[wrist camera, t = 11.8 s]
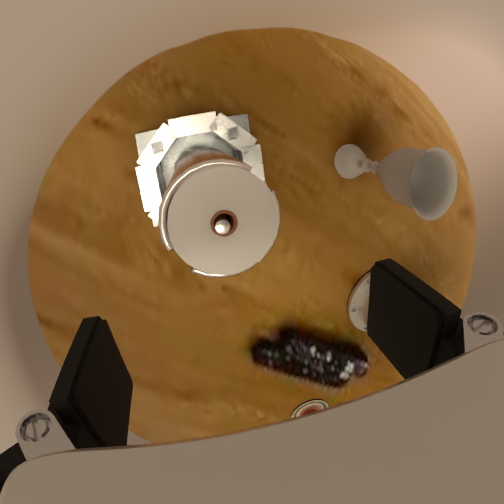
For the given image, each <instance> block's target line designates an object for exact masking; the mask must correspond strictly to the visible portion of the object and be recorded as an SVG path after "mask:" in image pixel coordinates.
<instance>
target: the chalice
mask: <svg viewBox="0 0 504 504" xmlns="http://www.w3.org/2000/svg"><path fill="white" fill-rule="evenodd" d="M334 164H335V168H336V170H337V172H338V174H339V175H341V176H342V177H344V178H347V179H352V178H355V177H357V176H359V175H361V174H362V173H363V172H370V171H371V172H372V173H373V174H377V176H378V178H379V180H380V182H381V184H382V186H383V188H384V189H385V190H386V192H387V193H388V194H389V195H390V196H391V198H392V199H393V200H394V201H396V202H398V203H401V204H403V205H406V206H408V207H410V208H413V209H414V210H415V212H416V213H417V214H418V215H419V216H420V218H423V219H425V220H427V221H429V220H436V219H438V218H439V217H441V216H443V215H444V214H445V212H446V211H447V210H448V209H449V207H450V206H451V204H452V202H453V200H454V197H455V193H456V190H457V180H458V179H457V169H456V166H455V163H454V160H453V158H452V157H451V155H450V154H449V152H447V151H446V150H444V149H443V148H440V147H433V148H430V149H427V150H421V149H415V148H406V147H404V148H402V149H399V150H397V151H394V152H392V153H390V154H389V155H387V156H386V157H385V158H383V159H382V160H381V161H380V162H377V161H373V162H372V161H371V160H370V159H366V156H365V154H364V153H363V152H362V150H361V149H360V148H359V147H358V146H356V145H353V144H346V145H343V146H342V147H341V148H339V150H338V151H337V153H336V155H335V161H334Z"/></svg>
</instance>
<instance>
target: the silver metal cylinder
mask: <svg viewBox="0 0 504 504" xmlns="http://www.w3.org/2000/svg"><path fill="white" fill-rule="evenodd" d="M252 168H253V167H251V166H250V165H248V164H246V163H244V162H242V161H240V160H238V159H236V158H234V157H232V156H230V155H228V154H226V153H224V152H222V151H219V150H217V149H215V148H213V147H211V146H208V145H202V144H199V145H193V146H191V147H188V148H187V149H185V150H184V151H183V152H181V154H180V155H179V156H178V158H177V160H176V162H175V165H174V168H173V170H172V173H171V176H170V178H169V181H168V184H167V187H166V189H165V192H164V195H163V198H162V201H161V203H160V206H159V216H158V226H159V232H160V237H161V240H162V242H163V244H164V246H165V248H166V250H167V252H169V251H171V250H172V249H175V251H176V253H177V254H178V255H179V256H180V257H181V258H182V259H183V260H184V262H185V263H187V264H189V265H190V269H191V272H192V273H195V274H198V275H201V276H204V277H214V278H223V277H229V276H235V275H237V274H240V273H242V272H244V271H247V270H249V269H251V268H252V267H253V266H255V265H256V264H257V263H259V262H260V261H261V260H262V259H263V258H264V257H265V255H266V254H267V253H268V252H269V251H270V249H271V248H272V246H273V244H274V242H275V239H276V237H277V235H278V230H279V225H280V206H279V202H278V199H277V196H276V194H275V191H274V190H273V189H272V188H270V187H269V186H267V185H266V184H265V183H264V182H263V181H262V180H261V179H259V178H258V177H257V176H256V175H254V174H253V173H251V172H250V171H251V169H252Z"/></svg>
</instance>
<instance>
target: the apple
mask: <svg viewBox="0 0 504 504" xmlns="http://www.w3.org/2000/svg"><path fill="white" fill-rule="evenodd" d="M325 408H328V405H327V403H326V402H325V401H322V400H313V401H309V402H306V403H304V404H302V405H301V406H299V407H298V408H297V409H296V410H295V411H294V413H293V415H292V418H294V417H298V416H302V415H305V414H309V413H312V412H316V411H319V410H322V409H325Z"/></svg>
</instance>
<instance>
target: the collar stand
mask: <svg viewBox="0 0 504 504" xmlns="http://www.w3.org/2000/svg"><path fill="white" fill-rule="evenodd" d="M168 124H169V126H168V125H167V124H165V123H163V124H162V125H161V127H160V128H159V129H157V130H152V131H148V132H143V133H139V134H135V137H136V142H137V148H138V154H139V159H138V161H137V163H138V164H140V165H138V166H137V167H135V168H136V173H137V178H138V182H139V187H140V192H141V196H142V201H143V205H144V210H145V212H147V211H150V212H149V215H148V216H149V217H150V218H152V220H153V225H154V226H158V216H159V206H160V203H161V201H162V198H163V195H164V192H165V189H166V187H167V184H168V181H169V178H170V176H171V173H172V170H173V168H174V165H175V162H176V160H177V158H178V156H179V155H180V154H181V152H183V151H184V150H185V149H187V148H188V147H191V146H193V145H199V144H202V145H208V146H211V147H213V148H215V149H217V150H219V151H222V152H224V153H226V154H228V155H230V156H232V157H234V158H236V159H238V160H240V161H242V162H244V163H246V164H248V165H250V166H251V167H253V168H252V169H251V171H250V172H251V173H253V174H254V175H256V176H257V177H258V178H259V179H261V180H262V181H263V182H264V183H265V177H264V169H263V162H262V154H261V147H260V144H257V143H256V144H255V142H256V141H257V139H256V138H255V137H253V136H252V135H251V134H250V128H249V121H248V114H243V115H235V116H228V117H226V116H225V115H223V114H222V113H219V114H218V115H216V114H215V111H214V112H208V113H202V114H196V115H190V116H185V117H180V118H174V119H169V120H168Z"/></svg>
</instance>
